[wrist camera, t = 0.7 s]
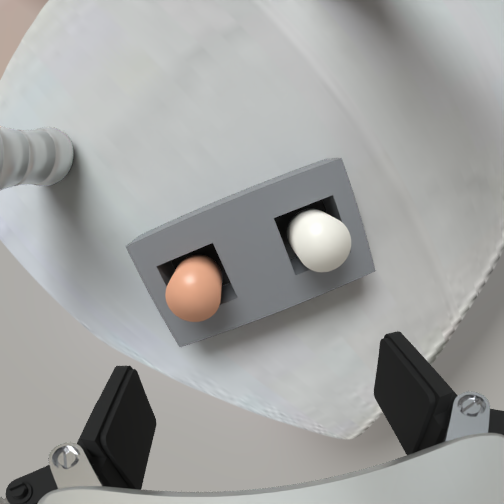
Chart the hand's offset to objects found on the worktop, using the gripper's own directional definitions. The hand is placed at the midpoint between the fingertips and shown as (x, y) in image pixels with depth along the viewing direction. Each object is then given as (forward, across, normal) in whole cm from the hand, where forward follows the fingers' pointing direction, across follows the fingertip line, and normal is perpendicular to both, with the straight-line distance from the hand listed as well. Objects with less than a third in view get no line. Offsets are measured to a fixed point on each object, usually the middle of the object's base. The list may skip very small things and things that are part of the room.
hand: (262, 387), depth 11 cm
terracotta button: (+21, +5, +2) cm, 21 cm away
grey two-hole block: (+24, -1, +1) cm, 24 cm away
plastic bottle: (+24, +21, -13) cm, 34 cm away
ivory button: (+20, -7, -1) cm, 21 cm away
